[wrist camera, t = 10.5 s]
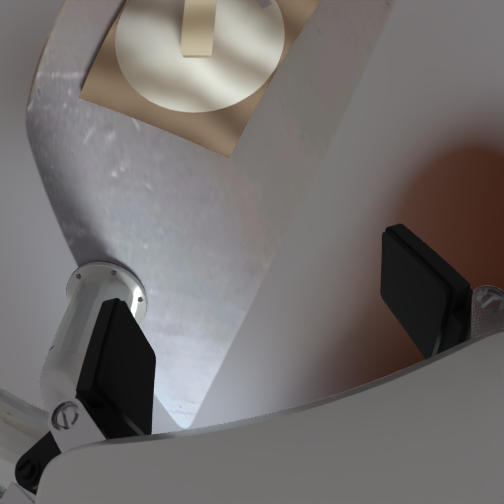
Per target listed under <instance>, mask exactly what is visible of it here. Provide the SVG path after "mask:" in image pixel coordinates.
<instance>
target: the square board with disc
mask: <svg viewBox="0 0 504 504" xmlns="http://www.w3.org/2000/svg"><path fill="white" fill-rule="evenodd" d="M319 2H320V0H217V6H216V15H215V25H214V35H213V47H212V54H211V58H184V57H183V56H182V54H181V52H180V46H181V35H182V24H183V15H184V6H185V0H127V1H126V3H125V4H124V6H123V8H122V9H121V11H120V13H119V14H118V16H117V18H116V20H115V22H114V23H113V25H112V27H111V29H110V31H109V33H108V35H107V37H106V38H105V40H104V42H103V44H102V46H101V48H100V50H99V53H98V55H97V57H96V59H95V61H94V63H93V65H92V68H91V70H90V72H89V74H88V77H87V79H86V81H85V84H84V86H83V89H82V91H81V93H80V96H79V98H81V99H84V100H87V101H90V102H92V103H95V104H98V105H101V106H104V107H106V108H109V109H112V110H114V111H117V112H120V113H122V114H125V115H128V116H130V117H133V118H135V119H138V120H141V121H143V122H146V123H148V124H151V125H153V126H156V127H158V128H160V129H163V130H165V131H168V132H170V133H173V134H175V135H177V136H180V137H182V138H184V139H187V140H189V141H191V142H194V143H196V144H198V145H201V146H203V147H205V148H207V149H210V150H212V151H214V152H216V153H219V154H221V155H223V156H225V157H227V158H229V156H230V154H231V153H232V151H233V149H234V147H235V145H236V143H237V141H238V139H239V137H240V136H241V134H242V132H243V130H244V128H245V126H246V124H247V123H248V121H249V119H250V117H251V115H252V114H253V112H254V110H255V108H256V106H257V105H258V103H259V101H260V99H261V97H262V96H263V94H264V92H265V90H266V89H267V87H268V85H269V83H270V82H271V80H272V78H273V76H274V75H275V73H276V71H277V70H278V68H279V66H280V65H281V63H282V61H283V60H284V58H285V56H286V55H287V53H288V51H289V50H290V48H291V46H292V45H293V43H294V41H295V40H296V38H297V36H298V35H299V33H300V32H301V30H302V28H303V27H304V25H305V24H306V22H307V21H308V19H309V17H310V16H311V14H312V13H313V11H314V10H315V8H316V7H317V5H318V3H319Z"/></svg>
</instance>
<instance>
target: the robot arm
mask: <svg viewBox="0 0 504 504" xmlns="http://www.w3.org/2000/svg"><path fill="white" fill-rule="evenodd" d="M66 296H67V300H68V304H69V305H68V307H67V309H66V312H65V314H64V316H63V318H62V320H61V323H60V325H59V327H58V330H57V332H56V334H55V337H54V339H53V342H52V344H51V347H50V349H49V351H48V354H47V356H46V359H45V362H44V364H43V367H42V370H41V374H40V391H41V395H42V400H43V402H44V406H45V408H46V411H45V410H42V409H40V408H38V407H36V406H34V405H33V404H31V403H29V402H27V401H25V400H23V399H21V398H20V397H18V396H16V395H15V394H13V393H11V392H9V391H8V390H6V389H4V388H2V387H1V386H0V504H504V292H503V291H502V290H501V289H499V288H497V287H494V286H480V287H478V288H477V289H475V290H474V291H473V290H471V289H470V283H468V282H467V281H466V280H465V279H464V278H463V277H462V276H461V275H460V274H459V273H458V272H457V271H456V270H455V269H454V268H453V267H452V266H450V265H449V264H448V263H447V262H446V261H445V260H444V259H443V258H442V257H440V256H439V255H438V254H437V253H436V252H435V251H433V249H431V248H430V247H429V246H428V245H427V244H426V243H424V242H423V241H422V240H421V239H420V238H419V237H417V236H416V235H415V234H414V233H412V232H411V231H410V230H409V229H408V228H406V227H405V226H404V225H403V224H397V225H393V226H390V227H387V228H386V230H385V232H383V234H382V265H381V296H382V298H383V300H384V302H385V303H386V304H387V306H388V307H389V309H390V310H391V311H392V313H393V314H394V315H395V317H396V318H397V320H398V321H399V322H400V324H401V325H402V327H403V328H404V329H405V331H406V332H407V334H408V335H409V336H410V338H411V339H412V341H413V342H414V344H415V345H416V346H417V348H418V349H419V351H420V352H421V354H422V355H423V357H424V358H425V359H426V360H424V361H421V362H419V363H417V364H415V365H412V366H410V367H408V368H405V369H403V370H400V371H398V372H396V373H393V374H391V375H388V376H386V377H383V378H381V379H378V380H375V381H373V382H370V383H367V384H365V385H362V386H359V387H356V388H353V389H350V390H347V391H345V392H342V393H339V394H336V395H333V396H329V397H326V398H323V399H320V400H317V401H313V402H310V403H307V404H303V405H300V406H296V407H292V408H289V409H285V410H281V411H277V412H274V413H269V414H265V415H261V416H257V417H252V418H248V419H243V420H239V421H234V422H229V423H224V424H219V425H214V426H208V427H202V428H196V429H189V430H182V431H175V432H168V433H162V434H161V433H160V434H153V435H151V432H152V411H153V409H152V408H153V394H154V379H155V366H156V356H155V353H154V351H153V349H152V347H151V346H150V344H149V342H148V341H147V339H146V337H145V336H144V334H143V332H142V330H141V329H140V327H139V324H140V323H141V322H142V321H143V319H144V317H145V315H146V311H147V296H146V293H145V290H144V288H143V286H142V285H141V283H140V282H139V281H138V279H137V278H136V277H135V276H134V275H132V274H131V273H130V272H129V271H127V270H126V269H124V268H122V267H120V266H118V265H115V264H112V263H108V262H90V263H87V264H84V265H82V266H80V267H79V268H77V270H75V271H74V272H73V274H72V275H71V277H70V279H69V281H68V283H67V288H66Z"/></svg>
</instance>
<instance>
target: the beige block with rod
mask: <svg viewBox="0 0 504 504" xmlns="http://www.w3.org/2000/svg"><path fill="white" fill-rule="evenodd" d="M216 6H217V0H185V6H184V15H183V24H182V35H181V46H180V52H181V54H182V56H183V57H184V58H211V54H212V47H213V35H214V25H215V15H216Z"/></svg>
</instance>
